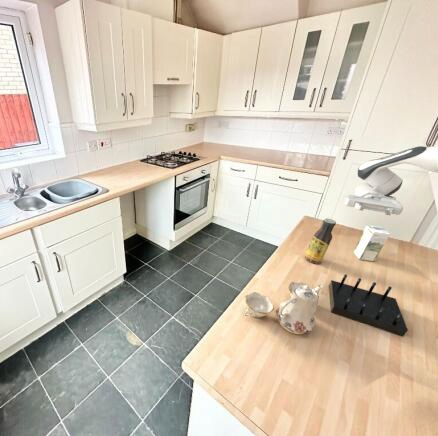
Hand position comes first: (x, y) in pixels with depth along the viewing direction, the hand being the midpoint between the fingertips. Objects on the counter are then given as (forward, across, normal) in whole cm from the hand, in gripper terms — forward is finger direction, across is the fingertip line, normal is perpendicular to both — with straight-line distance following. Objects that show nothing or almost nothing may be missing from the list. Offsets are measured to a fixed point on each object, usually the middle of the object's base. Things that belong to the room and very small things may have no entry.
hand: (374, 211), depth 107 cm
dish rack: (+47, -5, +17) cm, 50 cm away
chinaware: (+63, -27, +17) cm, 71 cm away
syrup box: (+12, 0, +17) cm, 21 cm away
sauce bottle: (+25, -19, +17) cm, 36 cm away
